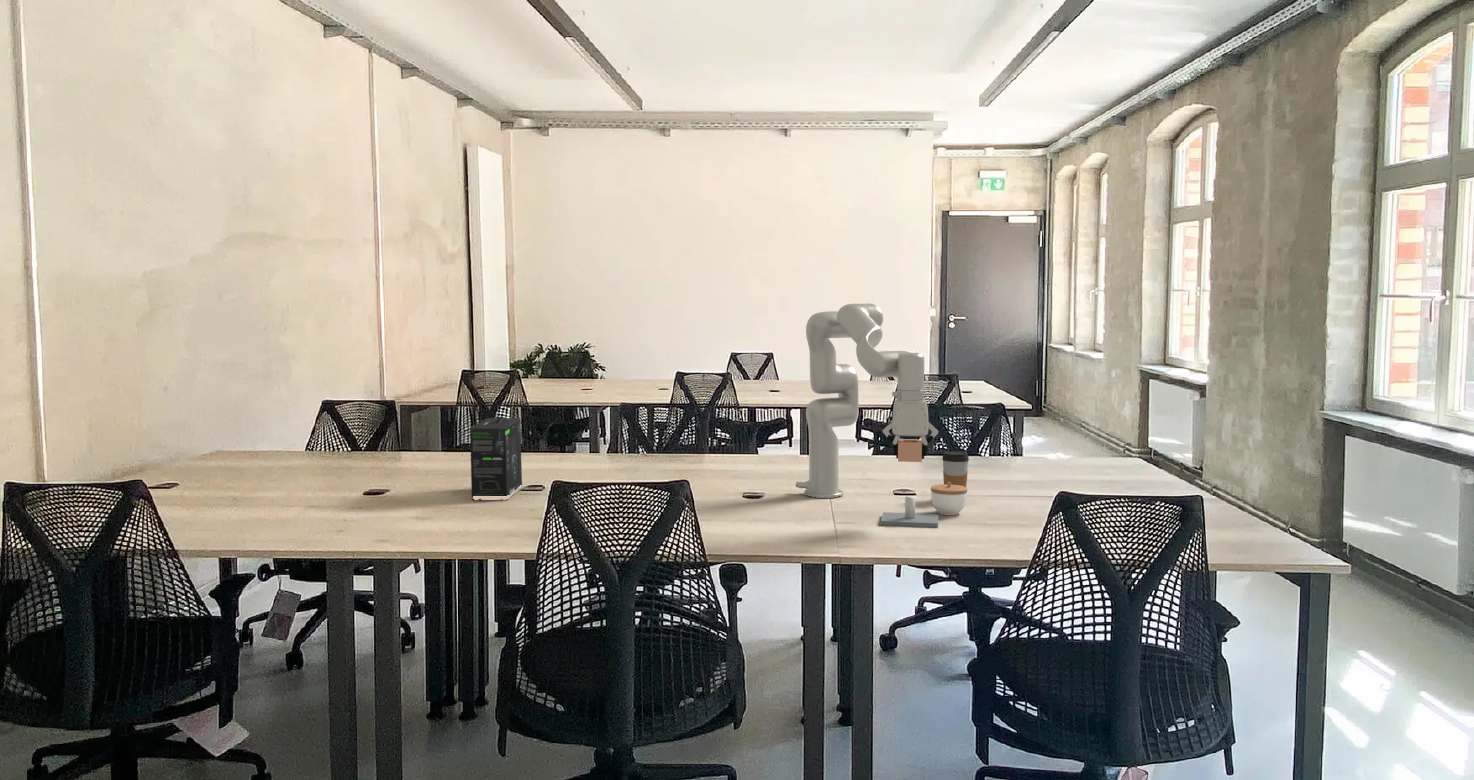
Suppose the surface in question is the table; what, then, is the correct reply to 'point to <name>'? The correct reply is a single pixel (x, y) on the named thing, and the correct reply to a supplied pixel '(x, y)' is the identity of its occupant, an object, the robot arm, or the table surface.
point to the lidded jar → (948, 498)
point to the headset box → (495, 456)
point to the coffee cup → (955, 467)
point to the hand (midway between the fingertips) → (910, 457)
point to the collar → (909, 450)
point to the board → (909, 522)
